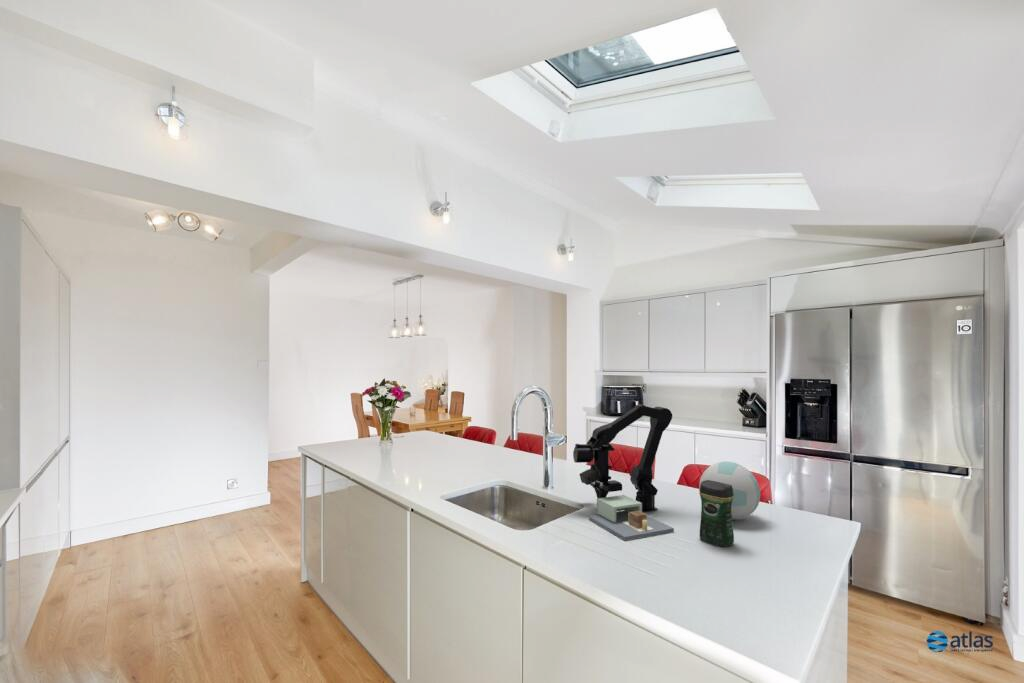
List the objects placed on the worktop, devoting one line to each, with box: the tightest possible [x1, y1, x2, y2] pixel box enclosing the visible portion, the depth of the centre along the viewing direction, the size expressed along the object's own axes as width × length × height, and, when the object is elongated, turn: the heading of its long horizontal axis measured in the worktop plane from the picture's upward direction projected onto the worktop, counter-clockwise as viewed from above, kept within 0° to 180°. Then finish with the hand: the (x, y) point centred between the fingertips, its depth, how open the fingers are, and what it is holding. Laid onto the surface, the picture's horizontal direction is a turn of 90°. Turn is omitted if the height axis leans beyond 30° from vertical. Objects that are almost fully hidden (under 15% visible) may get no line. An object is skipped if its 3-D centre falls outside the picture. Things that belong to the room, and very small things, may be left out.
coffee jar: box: [698, 480, 735, 547], centre depth 143 cm, size 10×8×19 cm
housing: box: [596, 494, 643, 522], centre depth 163 cm, size 12×14×5 cm
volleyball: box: [698, 461, 761, 521], centre depth 165 cm, size 20×20×20 cm
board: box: [588, 510, 675, 542], centre depth 155 cm, size 20×20×4 cm
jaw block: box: [629, 511, 648, 528], centre depth 152 cm, size 4×4×4 cm
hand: (600, 504), depth 171 cm, fingers closed
